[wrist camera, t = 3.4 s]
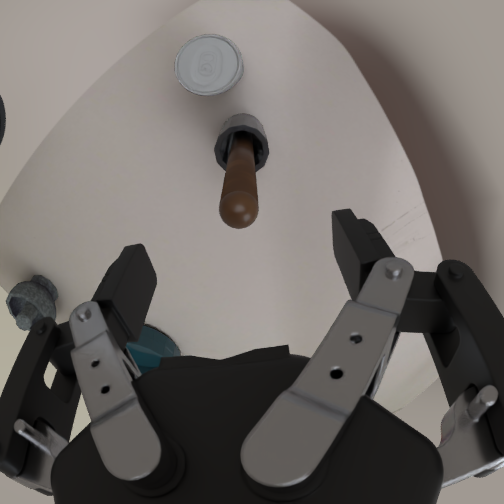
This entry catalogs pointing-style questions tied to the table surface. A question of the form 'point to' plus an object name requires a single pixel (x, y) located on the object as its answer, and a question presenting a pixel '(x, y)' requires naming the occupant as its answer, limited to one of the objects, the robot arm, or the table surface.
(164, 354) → the bowl
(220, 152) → the crock
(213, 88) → the beverage can
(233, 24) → the table surface
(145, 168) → the table surface
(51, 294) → the mortar and pestle
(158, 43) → the table surface
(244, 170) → the stick
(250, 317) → the table surface
